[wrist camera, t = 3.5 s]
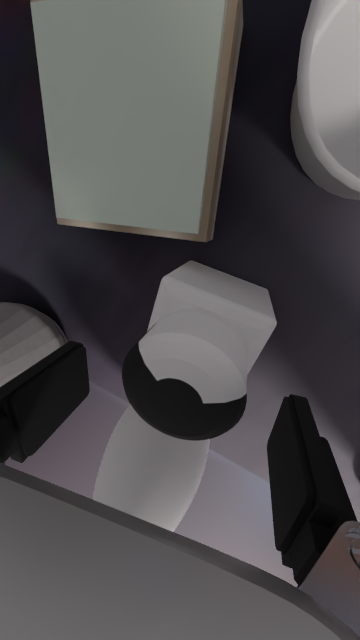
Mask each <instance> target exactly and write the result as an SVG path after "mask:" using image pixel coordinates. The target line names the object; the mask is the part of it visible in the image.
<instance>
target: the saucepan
mask: <svg viewBox="0 0 360 640" xmlns="http://www.w3.org/2000/svg"><path fill="white" fill-rule="evenodd" d="M290 123H291V138H292V142H293V146H294V150H295V154H296V157H297V159H298V161H299V163H300V165H301V166H302V168H303V170H304V172H305V173H306V174H307V175H308V176H309V177H310V179H311V180H312V181H313V182H314V183H315V184H317V185H318V186H319V187H321V188H322V189H324V190H325V191H327V192H328V193H331V194H334V195H336V196H339V197H342V198H345V199H352V200H359V201H360V0H312V1H311V5H310V9H309V12H308V16H307V20H306V23H305V27H304V31H303V35H302V38H301V46H300V54H299V62H298V71H297V81H296V85H295V88H294V92H293V97H292V106H291V114H290Z"/></svg>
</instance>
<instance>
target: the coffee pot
mask: <svg viewBox="0 0 360 640" xmlns="http://www.w3.org/2000/svg"><path fill="white" fill-rule="evenodd" d="M66 343H67V339H66V337H65V335H64V333H63V331H62V330H61V328H60V327H59V325H58V324H57V323H56V322H55V321H54V320H53V319H51V318H50V317H48V316H47V315H45V314H44V313H41V312H40V311H38V310H36V309H34V308H32V307H29V306H27V305H24V304H19V303H8V302H1V303H0V387H1V386H3V385H4V384H6V383H7V382H9V381H10V380H12V379H13V378H15V377H16V376H18V375H19V374H21V373H22V372H24V371H25V370H27V369H28V368H30V367H31V366H33V365H34V364H36V363H37V362H39V361H40V360H42V359H43V358H45V357H46V356H48V355H49V354H51V353H52V352H54V351H55V350H57V349H58V348H60V347H61V346H63V345H64V344H66Z"/></svg>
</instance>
